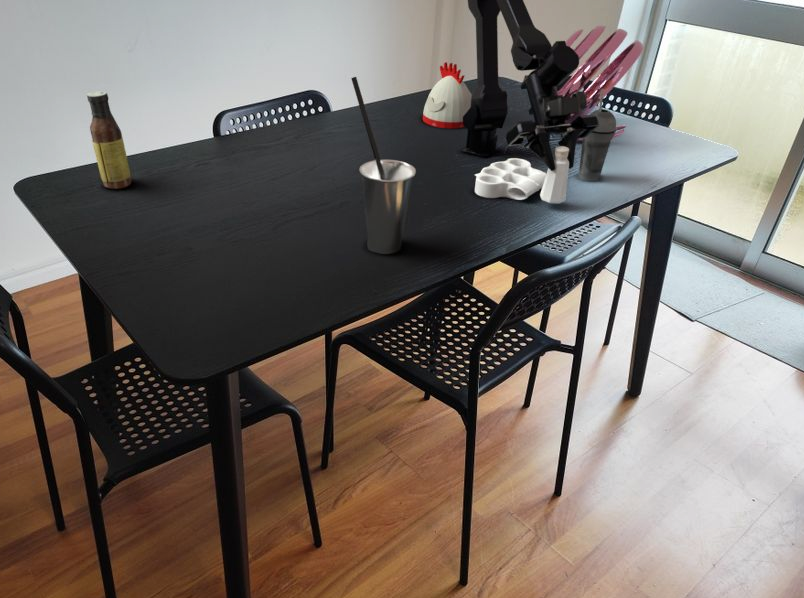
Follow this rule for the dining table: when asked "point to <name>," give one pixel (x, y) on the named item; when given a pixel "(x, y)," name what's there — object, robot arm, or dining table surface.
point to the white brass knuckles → (509, 180)
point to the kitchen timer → (447, 100)
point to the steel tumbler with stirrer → (384, 194)
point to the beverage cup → (597, 144)
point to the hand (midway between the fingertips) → (562, 169)
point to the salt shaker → (556, 178)
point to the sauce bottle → (108, 143)
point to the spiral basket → (594, 63)
